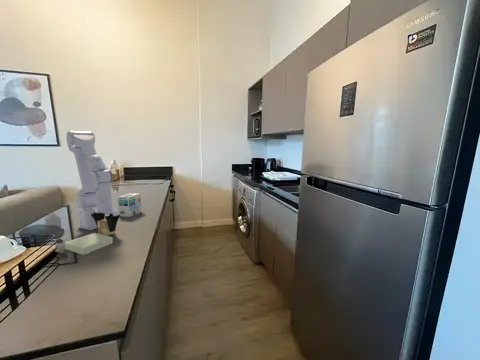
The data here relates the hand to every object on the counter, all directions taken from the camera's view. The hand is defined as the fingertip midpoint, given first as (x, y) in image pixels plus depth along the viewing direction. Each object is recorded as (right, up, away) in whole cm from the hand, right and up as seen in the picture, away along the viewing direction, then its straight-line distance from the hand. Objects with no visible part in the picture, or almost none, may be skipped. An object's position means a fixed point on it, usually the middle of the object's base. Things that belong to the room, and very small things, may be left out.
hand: (106, 229), depth 102 cm
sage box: (0, -4, -12) cm, 13 cm away
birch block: (0, -2, 0) cm, 2 cm away
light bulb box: (-3, +2, +30) cm, 30 cm away
